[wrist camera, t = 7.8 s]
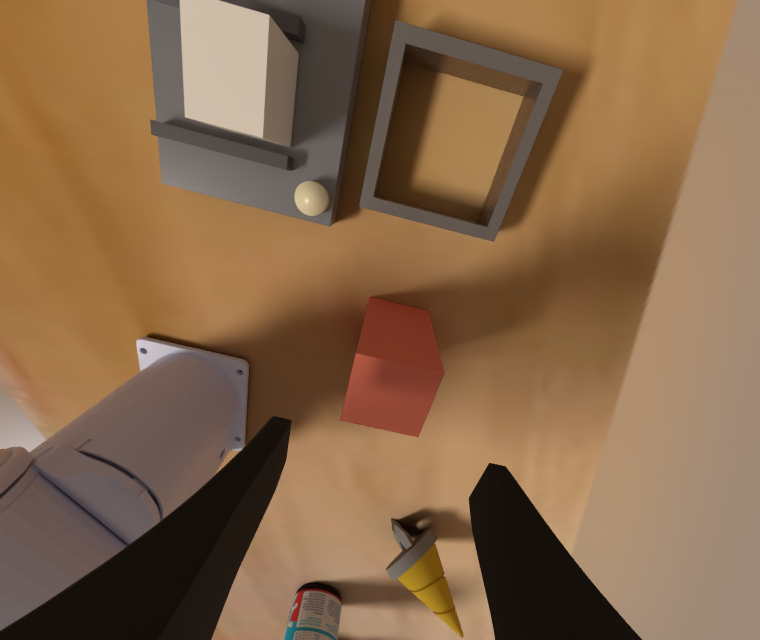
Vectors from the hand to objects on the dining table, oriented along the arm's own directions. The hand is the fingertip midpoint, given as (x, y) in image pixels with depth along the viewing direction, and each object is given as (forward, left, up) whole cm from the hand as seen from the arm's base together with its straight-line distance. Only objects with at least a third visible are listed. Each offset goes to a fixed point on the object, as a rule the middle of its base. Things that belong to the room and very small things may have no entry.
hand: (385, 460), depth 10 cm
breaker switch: (+11, +9, -9) cm, 17 cm away
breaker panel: (+11, +9, -10) cm, 18 cm away
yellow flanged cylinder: (-21, -9, -11) cm, 25 cm away
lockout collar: (+11, 0, -10) cm, 15 cm away
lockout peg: (0, 0, -10) cm, 11 cm away
